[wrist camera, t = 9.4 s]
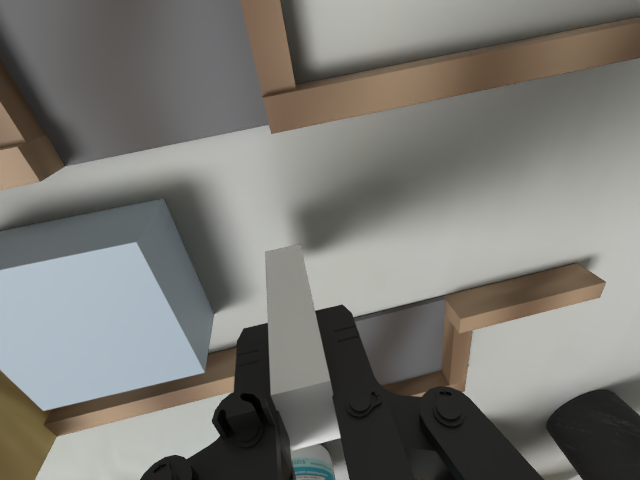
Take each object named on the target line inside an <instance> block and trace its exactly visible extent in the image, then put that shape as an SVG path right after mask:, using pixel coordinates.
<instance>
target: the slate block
mask: <svg viewBox="0 0 640 480" xmlns="http://www.w3.org/2000/svg"><path fill="white" fill-rule="evenodd" d="M213 318H214V313H213V310H212V308H211V306H210V304H209V301H208V299H207V297H206V294H205V292H204V290H203V288H202V285H201V283H200V281H199V278H198V276H197V274H196V271H195V269H194V267H193V265H192V262H191V260H190V258H189V255H188V253H187V251H186V249H185V246H184V244H183V242H182V239H181V237H180V235H179V233H178V230H177V228H176V226H175V223H174V221H173V219H172V216H171V214H170V212H169V210H168V207H167V205H166V203H165V200H164V198H163V199H158V200H153V201H148V202H143V203H138V204H132V205H127V206H122V207H117V208H112V209H107V210H102V211H97V212H92V213H87V214H82V215H77V216H72V217H67V218H62V219H57V220H52V221H47V222H42V223H37V224H32V225H27V226H22V227H17V228H12V229H7V230H2V231H0V370H1V371H2V372H3V373H4V374H5V375H6V376H7V377H8V378H9V379H10V380H11V381H12V382H13V383H14V384H16V385H17V386H18V387H19V388H20V389H21V390H22V391H23V392H24V393H25V394H26V395H27V396H28V397H29V398H30V399H31V400H32V401H33V402H34V403H35V404H36V405H37V406H39V407H40V408H41V409H42V410H43V411H46V410H50V409H54V408H58V407H62V406H67V405H71V404H75V403H79V402H84V401H88V400H92V399H96V398H100V397H105V396H109V395H113V394H117V393H121V392H126V391H130V390H134V389H138V388H142V387H147V386H151V385H155V384H159V383H164V382H168V381H172V380H176V379H180V378H185V377H189V376H193V375H197V374H201V373H205V368H206V362H207V356H208V350H209V343H210V337H211V331H212V325H213Z"/></svg>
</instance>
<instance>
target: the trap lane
mask: <svg viewBox="0 0 640 480" xmlns="http://www.w3.org/2000/svg"><path fill="white" fill-rule="evenodd" d="M636 58H640V17H635V18H630V19H625V20H620V21H615V22H610V23H605V24H600V25H595V26H590V27H585V28H580V29H575V30H570V31H564V32H559V33H554V34H549V35H544V36H539V37H534V38H529V39H524V40H519V41H514V42H509V43H504V44H499V45H494V46H489V47H484V48H479V49H473V50H468V51H463V52H458V53H453V54H448V55H443V56H438V57H433V58H428V59H423V60H418V61H413V62H408V63H403V64H398V65H393V66H388V67H383V68H377V69H372V70H367V71H362V72H357V73H352V74H347V75H342V76H337V77H332V78H327V79H322V80H317V81H312V82H307V83H302V84H297V85H295V80H294V75H293V69H292V64H291V58H290V53H289V47H288V42H287V36H286V31H285V25H284V20H283V14H282V9H281V3H280V0H0V190H2V189H7V188H12V187H17V186H22V185H27V184H31V183H36V182H40V181H42V180H44V179H45V178H47V177H49V176H50V175H52V174H54V173H55V172H57V171H58V170H60V169H62V168H63V167H65V166H69V165H74V164H79V163H84V162H89V161H94V160H99V159H104V158H108V157H113V156H118V155H123V154H128V153H133V152H138V151H143V150H148V149H152V148H157V147H162V146H167V145H172V144H177V143H182V142H187V141H191V140H196V139H201V138H206V137H211V136H216V135H221V134H226V133H231V132H235V131H240V130H245V129H250V128H255V127H260V126H265V125H269V126H270V130H271V134H273V133H278V132H283V131H288V130H293V129H297V128H302V127H307V126H312V125H317V124H322V123H326V122H331V121H336V120H341V119H346V118H351V117H355V116H360V115H365V114H370V113H375V112H380V111H385V110H389V109H394V108H399V107H404V106H409V105H414V104H418V103H423V102H428V101H433V100H438V99H443V98H447V97H452V96H457V95H462V94H467V93H472V92H476V91H481V90H486V89H491V88H496V87H501V86H505V85H510V84H515V83H520V82H525V81H530V80H535V79H539V78H544V77H549V76H554V75H559V74H564V73H568V72H573V71H578V70H583V69H588V68H593V67H597V66H602V65H607V64H612V63H617V62H622V61H626V60H631V59H636ZM605 284H606V282H605V281H604V280H602V279H601V278H599V277H598V276H596V275H595V274H593V273H592V272H590V271H588V270H587V269H585V268H584V267H582V266H581V265H579V264H578V263H575V264H571V265H567V266H563V267H559V268H555V269H551V270H547V271H543V272H539V273H535V274H531V275H527V276H523V277H519V278H514V279H510V280H506V281H502V282H498V283H494V284H490V285H486V286H482V287H478V288H474V289H470V290H466V291H462V292H458V293H454V294H450V295H446V296H442V297H438V298H434V299H430V300H426V301H422V302H417V303H413V304H409V305H405V306H401V307H397V308H393V309H389V310H385V311H381V312H377V313H373V314H369V315H365V316H361V317H357V318H354V321H355V324H356V327H357V329H358V332H359V335H360V338H361V340H362V343H363V346H364V349H365V352H366V354H367V357H368V360H369V363H370V366H371V368H372V371H373V374H374V376H375V378H376V380H377V381H378V382H379V384H380V385H381V386H382V387H384V388H385V389H386V390H388V391H390V392H392V393H395V394H399V395H405V396H417V397H422V396H423V395H424V394H425V393H426V392H427V391H428V390H429V389H431V388H435V387H438V386H444V387H451V388H454V389H456V390H459V391H461V392H464V391H465V384H466V376H467V368H468V361H469V353H470V345H471V338H472V330H475V329H479V328H483V327H487V326H491V325H494V324H498V323H502V322H506V321H510V320H514V319H518V318H522V317H526V316H530V315H534V314H537V313H541V312H545V311H549V310H553V309H557V308H561V307H565V306H569V305H573V304H576V303H580V302H584V301H588V300H592V299H596V298H600V296H601V294H602V291H603V289H604V286H605ZM236 349H237V347H236V348H232V349H228V350H224V351H220V352H215V353H211V354H208V356H207V362H206V368H205V373H201V374H197V375H193V376H189V377H185V378H180V379H176V380H172V381H168V382H164V383H159V384H155V385H151V386H147V387H142V388H138V389H134V390H130V391H126V392H121V393H117V394H113V395H109V396H105V397H100V398H96V399H92V400H88V401H84V402H79V403H75V404H71V405H67V406H62V407H58V408H54V409H50V410H46V411H43V410H42V409H41V408H40V407H39V406H37V405H36V404H35V403H34V402H33V401H32V400H31V399H30V398H29V397H28V396H27V395H26V394H25V393H24V392H23V391H22V390H21V389H20V388H19V387H18V386H17V385H16V384H14V383H13V382H12V381H11V380H10V379H9V378H8V377H7V376H6V375H5V374H4V373H3V372H2V371H1V370H0V480H35V478H36V476H37V474H38V472H39V470H40V468H41V466H42V464H43V463H44V461H45V459H46V457H47V455H48V453H49V451H50V449H51V447H52V445H53V443H54V441H55V439H56V437H57V436H61V435H65V434H69V433H73V432H77V431H81V430H84V429H88V428H92V427H96V426H100V425H104V424H108V423H112V422H116V421H120V420H124V419H127V418H131V417H135V416H139V415H143V414H147V413H151V412H155V411H159V410H163V409H166V408H170V407H174V406H178V405H182V404H186V403H190V402H194V401H198V400H202V399H206V398H209V397H213V396H217V395H221V394H225V393H229V392H233V391H234V378H235V369H236V367H235V364H236Z"/></svg>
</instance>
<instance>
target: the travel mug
mask: <svg viewBox="0 0 640 480" xmlns="http://www.w3.org/2000/svg"><path fill="white" fill-rule="evenodd" d="M547 430H548V432H549V433H550V435H551V436H552V438H553V439H554V441H555V442H556V443H557V445H558V446H559V448H560V449H561V450H562V452H563V453H564V455H565V456H566V457H567V459H568V460H569V461H570V463H571V464H572V466H573V467H574V468H575V470H576V471H577V472H578V474H579V475H580V477H581V478H582V479H583V480H640V416H639V415H638V414H637V413H636V412H635V411H634V410H633V409H632V408H630V407H629V406H628V405H627V404H626V403H625V402H624V401H623V400H622V399H620V398H619V397H618V396H617V395H616V394H615V393H613V392H611V391H608V390H599V391H593V392H590V393H586V394H584V395H581V396H579V397H577V398H575V399H573V400H571V401H569V402H568V403H566V404H564V405H563V406H562V407H560V408H559V409H558V410H557V411H556V412H555V413H554V414H553V415H552V416H551V417H550V419H549V420H548V423H547Z"/></svg>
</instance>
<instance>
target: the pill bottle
mask: <svg viewBox="0 0 640 480" xmlns="http://www.w3.org/2000/svg"><path fill="white" fill-rule="evenodd" d="M290 450H291V462H292V464H293V467H294V471H295V475H296V480H335V475H334V470H333V465H332V460H331V457H330V455H329V453H328V451H327V450H326V449H325V448H324V447H323V446H322V445H320V444H315V445H312V446H308V447H304V448H300V449H296V450H292V448H291V445H290Z"/></svg>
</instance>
